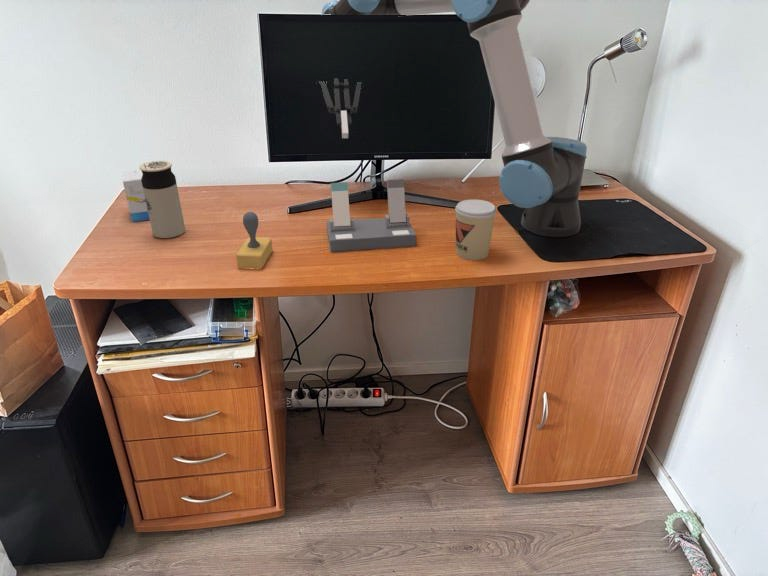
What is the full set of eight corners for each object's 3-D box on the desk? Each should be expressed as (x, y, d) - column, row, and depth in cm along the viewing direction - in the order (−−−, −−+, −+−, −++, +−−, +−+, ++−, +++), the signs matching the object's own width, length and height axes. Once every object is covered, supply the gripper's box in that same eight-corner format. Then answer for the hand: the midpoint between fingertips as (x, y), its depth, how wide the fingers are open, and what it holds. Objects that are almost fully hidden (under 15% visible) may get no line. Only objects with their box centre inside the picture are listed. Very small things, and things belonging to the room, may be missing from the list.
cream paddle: (333, 227, 140) (330, 183, 138) (349, 226, 141) (346, 182, 139) (334, 227, 139) (331, 183, 137) (350, 226, 139) (347, 182, 137)
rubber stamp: (249, 250, 137) (243, 203, 131) (273, 250, 137) (267, 204, 131) (237, 269, 129) (230, 220, 123) (262, 269, 128) (256, 221, 122)
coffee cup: (446, 248, 138) (448, 201, 132) (479, 242, 141) (483, 196, 135) (463, 264, 130) (467, 216, 124) (499, 258, 133) (504, 210, 127)
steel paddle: (389, 223, 142) (386, 180, 140) (404, 222, 143) (402, 179, 141) (390, 224, 140) (387, 180, 139) (405, 222, 141) (403, 179, 139)
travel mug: (185, 225, 150) (172, 159, 142) (185, 236, 144) (172, 168, 135) (153, 228, 148) (138, 161, 139) (152, 240, 142) (137, 171, 133)
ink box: (164, 218, 155) (156, 177, 149) (131, 222, 152) (121, 181, 146) (163, 207, 162) (155, 168, 156) (131, 211, 159) (122, 171, 153)
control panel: (326, 232, 146) (325, 211, 144) (406, 226, 149) (406, 206, 146) (330, 251, 136) (329, 230, 133) (415, 245, 139) (416, 224, 136)
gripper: (361, 65, 156) (369, 142, 150) (314, 66, 155) (320, 143, 149) (363, 47, 149) (371, 127, 143) (314, 48, 147) (320, 128, 141)
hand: (345, 135), depth 146 cm, fingers closed
